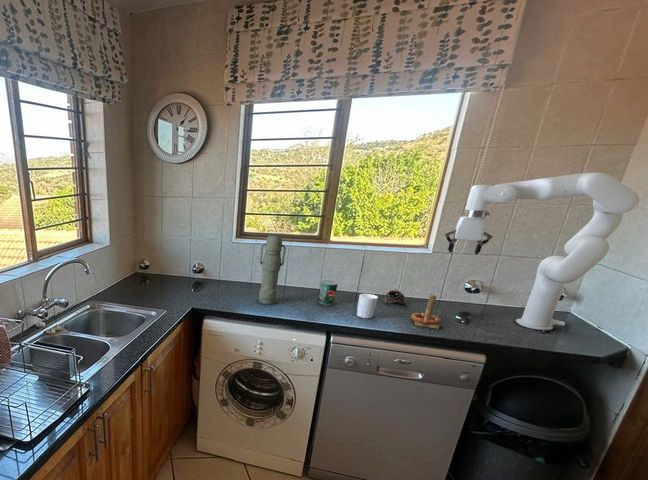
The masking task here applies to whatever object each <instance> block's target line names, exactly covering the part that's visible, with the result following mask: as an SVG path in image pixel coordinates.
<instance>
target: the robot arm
mask: <svg viewBox="0 0 648 480" xmlns="http://www.w3.org/2000/svg"><path fill="white" fill-rule="evenodd" d="M577 196H588V197H590V198H591V199H592V207H593V215H592V218H591V219H590V220H589V222H587V224H585V226H583V227H582V228H581V229H579V231H577V233H575V234H574V235H573V236H572V237H571V238H570V239H569V240H568V241H567V242H566V243H565V245H564V246H563V251H564V252H565V254H567V256H566V257H565V256H562V255H551V256H548V257H545V258H544V259H542V260H541V261H540V263H539V264H538V267H537V270H536V276H535V281H534V284H533V285H532V289H531V291H530V294H529V297H528V299H527V302H526V305H525V308H524V311H523V314H522V316H521V317H520V318H517V319H515V322H516V323H517V324H518V325H519V326H521V327H524V328H528V329H532V330H538V331H552V330H553V329H554V326H559V327H564V326H565V325H566V322H565V321H561V320H559V319H555V318H553V317H554V313H555V312H556V309H557V306H558V304H559V301H560V299H561V296H562V294H563V291H564V288H565V284H570V283H574V282H576V281H577V280H579V279H581V278H582V277H583V276H585V275H586V274H587V273H589V271H590V270H591V269H593V268H594V267H596V266H597V264H599V263H600V262H601V261H603V260H604V258H605V257H606V256H607V255H608V253H609V251H610V243H609V242H608V241H607V239H609V238H610V236H611V235H613V234H614V233H615V232H616V231H617V229H618V228H619V227H620V225H621V224H622V222H623V217H624V214H626V213H629V212H631V211H633V210H634V209H635V208H636V207H638V205H639V203H640V196H639V194H638V193H637V192H636V191H635V190H634V189H632V188H630V187H629V186H627V185H626V184H625V183H622V182H621V181H620V180H618V179H616V178H614V177H613V176H611V175H609V174H607V173H605V172H581V173H572V174H567V175H566V174H565V175H559V176H551V177H542V178H536V179H528V180H521V181H514V182H505V183H498V184H494V185H491V184H475V185H474V184H473V185H472V186H471V188H470V191H469V194H468V197H467V202H466V205H465V209H464V212H463V215H462V216H460V217H459V219H458V222H457V224H456V226H455V229H453V230H450V231H447V232H445V233H444V236H445V239H446V241H447V242H448V248H447V251H448V253H450V254H451V253H453V250H454V246H455V242H456V241H470V242H476V243H477V244H476V246H475V249H474V255H479V253H481V251H482V247H483V246H484V245H486V244H487V243H489V241H491V240H492V238H493V235H491V234H490V233H488V232H486V231H485V230H486V229H485V228H486V223H487V218H486V216H490V214H491V212H490V211H487V210H488V207H489V204H490V203H494V204H508V203H510V202H513V201H515V200H549V199H551V200H552V199H560V198H567V197H577ZM451 235H453V236H452V238H451V237H450V236H451ZM484 236H485V237H486V238H485V239H483V237H484Z"/></svg>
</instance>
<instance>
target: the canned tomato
mask: <svg viewBox="0 0 648 480" xmlns="http://www.w3.org/2000/svg"><path fill="white" fill-rule="evenodd" d="M338 285H339V282H337V281H333V280H321V282H320V288H319V294H318V300H317V303H318V304H321V305H323V306H324V305H325V306H333V305H335V301H336V295H337V291H338Z"/></svg>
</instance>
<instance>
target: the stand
mask: <svg viewBox="0 0 648 480" xmlns="http://www.w3.org/2000/svg"><path fill="white" fill-rule="evenodd" d="M436 300H437V295H436V294H430V295H429V297H428V302H427V305H426V309H425V312H424V313H425V315H424V318H422V317H418V318H422V319H427V320H432V319H430V317H431V315H433V310H434V307H435V304H436ZM412 321H413V324H414V326H416V327H417V326H418V327H424V328H433V329H437V330H438V329H440V323H438V324H423V323H419V322H416V321H414V320H412Z"/></svg>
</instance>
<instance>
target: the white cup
mask: <svg viewBox="0 0 648 480" xmlns="http://www.w3.org/2000/svg"><path fill="white" fill-rule="evenodd" d="M378 300H379V296H378V295H375V294H371V293H360V294H359V295H358V301H357V308H356V316H357V317H358V318H363V319H372V318H373V316H374V313H375V310H376V306H377V303H378Z"/></svg>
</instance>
